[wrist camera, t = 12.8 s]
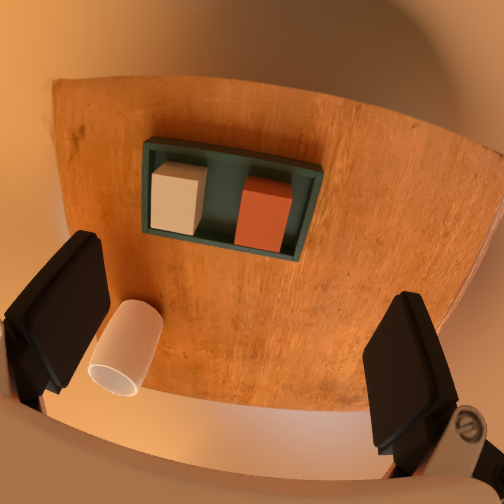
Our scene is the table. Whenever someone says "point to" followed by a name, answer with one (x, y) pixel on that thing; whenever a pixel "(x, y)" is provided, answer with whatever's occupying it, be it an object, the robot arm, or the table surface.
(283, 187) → the orange-red block
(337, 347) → the table surface
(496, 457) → the robot arm
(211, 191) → the tray
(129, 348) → the cup
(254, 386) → the table surface
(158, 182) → the cream white rectangular block
